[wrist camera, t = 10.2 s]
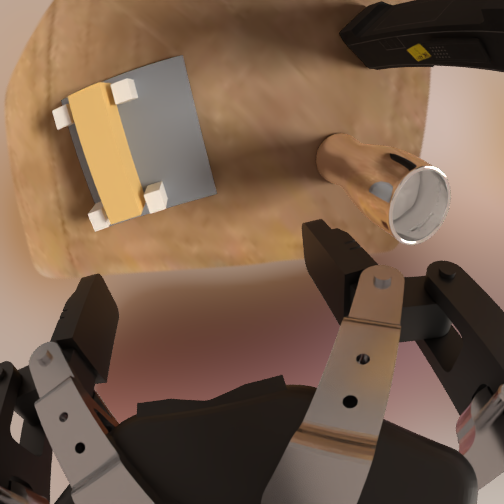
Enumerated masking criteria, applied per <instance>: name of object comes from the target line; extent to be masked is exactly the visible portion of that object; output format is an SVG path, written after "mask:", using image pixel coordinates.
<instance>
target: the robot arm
mask: <svg viewBox="0 0 504 504" xmlns="http://www.w3.org/2000/svg"><path fill="white" fill-rule="evenodd" d="M302 236H303V247H304V258H305V264H306V267H307V270H308V272H309V275H310V276H311V278H312V279H313V281H314V283H315V284H316V286H317V288H318V289H319V291H320V293H321V294H322V296H323V298H324V299H325V301H326V303H327V305H328V306H329V308H330V310H331V311H332V313H333V315H334V316H335V318H336V320H337V321H338V323H339V325H340V329H339V332H338V335H337V338H336V340H335V343H334V346H333V349H332V352H331V354H330V357H329V360H328V362H327V365H326V367H325V370H324V372H323V375H322V378H321V380H320V382H319V385H318V388H315V387H311V386H305V385H286V384H285V381H284V378H283V375H280V376H276V377H272V378H269V379H264V380H261V381H257V382H252V383H248V384H245V385H243V386H240V387H238V388H236V389H234V390H232V391H230V392H227V393H225V394H223V395H220V396H218V397H216V398H214V399H211V400H207V401H196V400H180V399H166V400H160V401H152V402H144V403H138V404H137V414H136V415H134V416H132V417H130V418H128V419H126V420H124V421H123V422H121V423H120V424H119V423H118V422H117V420H116V419H115V417H114V416H113V415H112V413H111V412H110V410H109V409H108V408H107V406H106V405H105V403H104V402H103V400H102V399H101V397H100V396H99V394H98V393H97V392H96V391H95V390H94V386H95V384H98V383H106V382H107V377H108V371H109V365H110V359H111V354H112V349H113V344H114V339H115V333H116V329H117V324H118V320H119V312H118V308H117V305H116V303H115V301H114V299H113V297H112V295H111V293H110V291H109V290H108V287H107V285H106V283H105V281H104V279H103V278H102V276H101V275H100V274H94V275H91V276H87V277H83V278H81V280H80V282H79V284H78V287H77V289H76V291H75V292H74V293H73V294H72V296H71V297H70V298H69V299H68V301H67V302H66V304H65V307H64V309H63V312H62V313H61V316H60V319H59V321H58V323H57V325H56V328H55V331H54V333H53V336H52V338H51V341H50V342H47V343H44V344H42V345H41V346H39V347H38V348H37V349H36V350H35V351H34V352H33V354H32V355H31V357H30V360H29V365H28V366H26V367H24V368H21V369H19V370H17V369H16V368H15V367H14V365H13V364H12V363H11V362H8V361H5V362H2V363H0V504H50V476H51V462H52V451H53V452H54V454H55V456H56V458H57V460H58V462H59V464H60V466H61V468H62V470H63V472H64V474H65V476H66V477H67V479H68V481H69V483H70V484H69V485H68V487H67V488H66V489H65V490H64V492H63V493H62V494H61V496H60V497H59V498H58V500H57V501H56V502H55V503H54V504H477V495H478V490H479V489H481V488H482V487H484V486H485V485H486V484H488V483H489V482H491V481H492V480H493V479H495V478H496V477H497V476H499V475H500V474H501V473H503V472H504V312H503V310H502V309H500V307H499V306H498V305H497V304H496V303H495V302H494V301H493V300H492V298H490V296H489V295H488V294H487V293H486V292H485V291H484V290H483V289H482V288H481V287H480V286H479V285H478V284H477V283H476V282H475V281H474V280H473V279H472V278H471V277H470V276H469V275H468V274H467V273H466V272H465V271H464V270H463V269H462V268H461V267H459V266H458V265H456V264H454V263H452V262H448V261H436V262H433V263H432V264H430V265H429V266H428V268H427V272H426V276H419V277H404V276H403V274H402V273H401V272H400V271H399V270H397V269H396V268H393V267H391V266H386V265H378V264H377V263H376V262H375V261H374V260H373V258H371V257H370V255H369V254H368V253H367V252H366V251H365V250H364V249H363V248H362V247H360V245H359V244H358V243H357V242H355V240H354V239H353V238H352V237H351V236H350V235H349V234H348V233H347V232H344V231H342V230H340V229H338V228H336V229H331V228H330V227H329V226H328V225H327V224H326V223H325V222H324V221H323V220H322V219H319V220H314V221H310V222H306V223H303V224H302ZM452 323H453V324H454V326H455V327H456V328H457V329H458V331H459V332H460V334H461V336H462V338H461V336H460V335H459V334H458V332H457V331H456V330H455V329H454V327H453V326H452V325H451V324H452ZM406 341H416V343H417V345H418V346H419V348H420V349H421V351H422V353H423V354H424V356H425V357H426V359H427V360H428V362H429V364H430V365H431V367H432V369H433V370H434V372H435V373H436V375H437V377H438V378H439V380H440V382H441V383H442V385H443V387H444V388H445V390H446V392H447V394H448V395H449V397H450V399H451V401H452V402H453V404H454V406H455V408H456V409H457V411H458V413H459V415H460V417H459V419H458V421H457V424H456V434H457V437H458V443H459V452H458V451H457V450H455V449H453V448H450V447H448V446H445V445H443V444H440V443H438V442H435V441H433V440H430V439H428V438H426V437H423V436H421V435H418V434H416V433H414V432H411V431H409V430H407V429H405V428H402V427H400V426H398V425H396V424H394V423H391V422H389V421H386V420H385V419H383V418H384V414H385V410H386V406H387V402H388V397H389V393H390V388H391V383H392V379H393V374H394V368H395V363H396V357H397V351H398V345H399V342H406ZM14 411H15V412H16V413H17V414H18V415H19V416H21V417H22V418H23V419H24V422H23V427H22V432H21V438H20V444H18V443H17V442H16V441H15V440H14V439H13V438H12V436H11V433H10V425H11V421H12V416H13V412H14Z"/></svg>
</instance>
